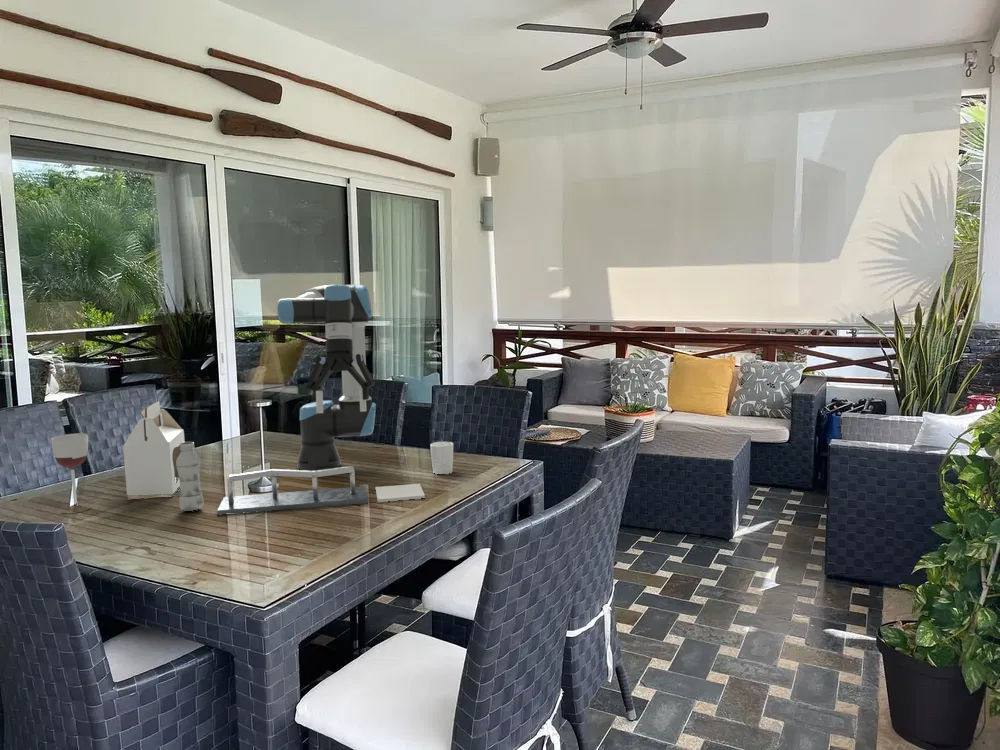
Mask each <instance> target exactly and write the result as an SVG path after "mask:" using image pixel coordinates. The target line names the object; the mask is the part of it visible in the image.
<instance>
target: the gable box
mask: <svg viewBox="0 0 1000 750" xmlns="http://www.w3.org/2000/svg"><path fill="white" fill-rule="evenodd" d="M160 405H161V404H160V400H156V401H155V402H153V403H152V404H150V405H148V406H146V407H145V408H144V409H143V410H142V411H139V413H140V415H141V417H142V418H140V419H139V420H138V422H137V424H136V425H135V426H134V428H133V429H132V431H131V433H130V434H129V436H128V437H127V439H126V441H125V442H124V444H123V445H122V450H123V461H124V462H123V465H124V475H125V476H124V477H125V486H126V496H127V495H150V494H151V495H153V494H173V493H174V492H175V491H176V489H177V488H178V487H179V486H180V480H179V474H178V470H177V466H176V460H177V458H178V456H179V455H180V453H181V450H180V444H181V443H185V442H186V441H185V431H184V429H183V428H182V426H180V425H179V423H178V422H177V421H176V420H175V419H174V418H173V416H172V415H171V414H170V413H169V412H168V411H167V410H166V409H164V408H161V406H160ZM175 477H178V479H177V482H176V483H175Z"/></svg>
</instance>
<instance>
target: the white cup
mask: <svg viewBox="0 0 1000 750" xmlns="http://www.w3.org/2000/svg"><path fill="white" fill-rule="evenodd" d="M430 458H431V466H432V473H433V474H434V473H435V474H434V475H437V474H446V475H450V474H452V473H453V464H454V442H452V441H436V442H435V441H434V442H432V443H430ZM449 473H450V474H449Z"/></svg>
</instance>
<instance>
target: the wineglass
mask: <svg viewBox="0 0 1000 750" xmlns="http://www.w3.org/2000/svg"><path fill="white" fill-rule="evenodd" d="M88 435H89V434H88V433H84V432H83V433H68V434H67V433H66V434H61V435H57V436H53V437H51V447H52V452H53V456H54V459H55V461H56V463H57V464H58V465H59V466H61V467H63V468H67V469H69V470H70V474H71V484H72V497H73V498H72V499H73V505H74V504H76V503H77V504H78V498H77V485H76V484H77V483H76V474H75V468H77V467H79V466H81V465H82V464H83V463H84V462H85V461H86V460H87V456H88V450H89V449H88V448H89V436H88Z"/></svg>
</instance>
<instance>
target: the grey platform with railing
mask: <svg viewBox="0 0 1000 750" xmlns="http://www.w3.org/2000/svg"><path fill="white" fill-rule="evenodd" d="M341 474H349V483H350V487H339V488H337V487H336V488H326V489H318V478H320V477H327V476H336V475H341ZM355 474H356V473H355V468H354V466H353V465H347V466H341V467H340V466H339V467H337V468H332V469H324V470H317V471H308V470H299V469H283V468H280V469H279V468H272V469H265V470H258V471H257V470H256V471H249V472H242V473H235V474H229V475H228V477H227V478H226V483H227V487H226V488H227V496H224V497H223V499H222V500H221V502H220V504H219V506H218V508H217V510H216V512H217V514H226V513H243V512H256V511H268V512H273V511H272V510H280V511H290V510H289V509H292V510H302V508H305V509H313V508H312V507H317V508H327V507H328V506H329V507H337V506H338V507H339V506H350V505H351V506H352V505H353V504H354V505H363V504H365V503H366V504H368V503H369V500H368V492H367V487H366V485H364V486H356V477H355V476H356V475H355ZM277 476H278V477H294V478H295V477H297V478H298V477H299V478H311V481H312V483H311V485H312V486H311V487H312V490H311V489H310V490H298V491H297V490H296V491H287V492H286V491H285V492H278V482H277ZM267 477H271V491H272V493H260V494H259V493H258V494H247V495H236V496H234V489H233V487H234V486H233V482H239V481H246V480H253V479H258V478H267ZM256 513H257V512H256ZM243 514H244V513H243Z"/></svg>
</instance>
